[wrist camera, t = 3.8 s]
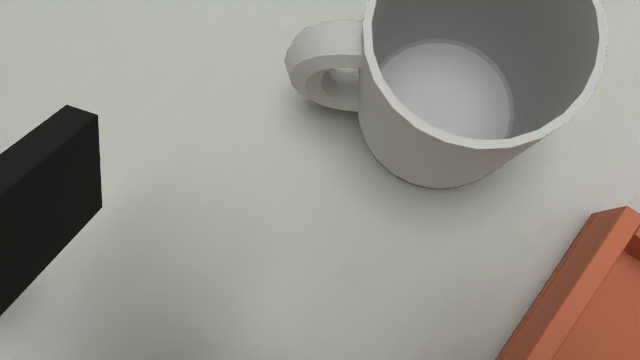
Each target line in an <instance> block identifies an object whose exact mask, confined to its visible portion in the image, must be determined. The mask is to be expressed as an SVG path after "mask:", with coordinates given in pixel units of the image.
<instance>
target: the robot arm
mask: <svg viewBox="0 0 640 360" xmlns="http://www.w3.org/2000/svg"><path fill="white" fill-rule="evenodd" d="M101 208H102V193H101V172H100V150H99V129H98V115H96V114H93V113H90V112H87V111H84V110H81V109H78V108H75V107H72V106H69V105H66V106H64V107H63V108H62V109H60V110H59V111H58V112H56V113H55V114H54V115H52V116H51V117H50V118H48V119H47V120H46V121H44V122H43V123H42V124H40V125H39V126H37V127H36V128H35V129H33V130H32V131H31V132H29V133H28V134H27V135H25V136H24V137H23V138H21V139H20V140H19V141H17V142H16V143H15V144H13V145H12V146H11V147H9V148H8V149H7V150H5V151H4V152H3V153H1V154H0V316H1V315H2V314H3V313H4V312H5V311H6V309H7V308H8V307H9V306H10V305H11V304H12V303H13V302H14V301H15V300H16V299H17V298H18V297H19V296H20V294H21V293H22V292H23V291H24V290H25V289H26V288H27V287H28V286H29V285H30V284H31V283H32V282H33V281H34V280H35V278H36V277H37V276H38V275H39V274H40V273H41V272H42V271H43V270H44V269H45V268H46V267H47V266H48V265H49V263H50V262H51V261H52V260H53V259H54V258H55V257H56V256H57V255H58V254H59V253H60V252H61V251H62V250H63V249H64V247H65V246H66V245H67V244H68V243H69V242H70V241H71V240H72V239H73V238H74V237H75V236H76V235H77V234H78V232H79V231H80V230H81V229H82V228H83V227H84V226H85V225H86V224H87V223H88V222H89V221H90V220H91V219H92V218H93V216H94V215H95V214H96V213H97V212H98V211H99V210H100V209H101Z"/></svg>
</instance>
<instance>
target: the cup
mask: <svg viewBox="0 0 640 360" xmlns="http://www.w3.org/2000/svg"><path fill="white" fill-rule="evenodd" d="M608 40H609V37H608V29H607V21H606V13H605V8H604V5H603V3H602V0H368V2H367V6H366V10H365V15H364V19H363V21H356V20H339V21H327V22H321V23H318V24H315V25H312V26H309V27H307V28H305V29H304V30H302V31H301V32H300V33H299V34H298V35H297V36H296V37H295V39H294V40H293V42H292V44H291V46H290V47H289V49H288V51H287V54H286V58H285V64H286V68H287V71H288V74H289V77H290V80H291V84H292V86H293V87H294V88H295V89H296V90H297V92H298V93H299V94H301V95H303V96H304V97H306V98H308V99H309V100H311V101H314V102H316V103H318V104H321V105H324V106H327V107H330V108H334V109H340V110H346V111H357V112H358V115H359V124H360V127H361V130H362V133H363V136H364V139H365V142H366V144H367V145H368V147H369V148H370V150H371V151H372V153H373V154H374V156H375V157H376V159H377V160H378V161H379V162H380V163H381V164H382V165H383V166H384V167H386V168H387V169H388V170H389V171H390V172H391V173H392V174H394V175H396V176H398V177H400V178H402V179H404V180H406V181H408V182H409V183H411V184H415V185H420V186H424V187H429V188H433V189H434V188H455V187H458V186H461V185H465V184H468V183H471V182H474V181H477V180H480V179H481V178H483V177H484V176H486V175H488V174H489V173H491V172H492V171H494V170H495V169H497V168H498V167H500V166H501V165H503V164H504V163H506V162H508V161H509V160H511V159H512V158H514V157H515V156H517V155H518V154H520V153H521V152H523V151H524V150H526V149H527V148H529V147H530V146H532V145H533V144H535V143H536V142H538V141H539V140H541V139H542V138H544V137H545V136H547V135H548V134H550V133H551V132H553V131H554V130H556V129H557V128H559V127H560V126H562V125H563V124H565V123H566V122H568V121H569V120H570V119H571V118H572V117H573V116H574V115H575V114H576V113H577V112H578V110H579V109H580V108H581V107H582V106H583V105H584V104H585V103H586V101H587V100H588V99H589V98H590V97H591V95H592V93H593V91H594V89H595V87H596V84H597V82H598V80H599V78H600V76H601V74H602V72H603V70H604V65H605V59H606V53H607V46H608ZM333 68H358V69H360V70H359V73H349V72H343V71H338V70H334V69H333Z"/></svg>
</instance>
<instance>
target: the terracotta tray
mask: <svg viewBox="0 0 640 360" xmlns="http://www.w3.org/2000/svg"><path fill="white" fill-rule="evenodd" d="M496 360H640V214H639V213H637V212H636V211H634V210H633V209H631V208H630V207H628V206H625V207H620V208H616V209H611V210H607V211H602V212H599V213H598V212H597V213H593V214H592V215H591V217H590V218H589V220H588V221H587V223H586V224H585V226H584V227H583V229H582V230H581V232H580V233H579V235H578V236H577V238H576V239H575V241H574V242H573V244H572V245H571V247H570V248H569V250H568V251H567V253H566V254H565V256H564V257H563V259H562V261H561V262H560V264H559V265H558V267H557V268H556V270H555V271H554V273H553V274H552V276H551V277H550V279H549V280H548V282H547V283H546V285H545V286H544V288H543V289H542V291H541V292H540V294H539V295H538V297H537V298H536V300H535V301H534V303H533V304H532V306H531V307H530V309H529V310H528V312H527V313H526V315H525V316H524V318H523V320H522V321H521V323H520V324H519V326H518V327H517V329H516V330H515V332H514V333H513V335H512V336H511V338H510V339H509V341H508V342H507V344H506V345H505V347H504V348H503V350H502V351H501V353H500V354H499V356H498V357H497V359H496Z"/></svg>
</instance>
